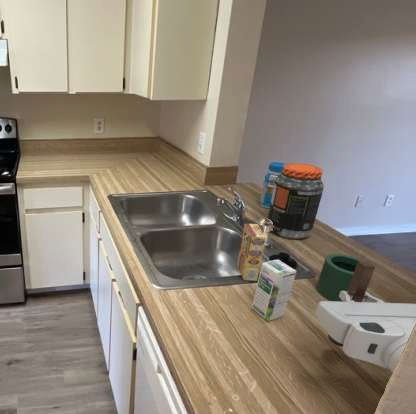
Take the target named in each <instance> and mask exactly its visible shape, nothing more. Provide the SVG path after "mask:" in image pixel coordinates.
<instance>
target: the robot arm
mask: <svg viewBox="0 0 416 414" xmlns="http://www.w3.org/2000/svg"><path fill="white" fill-rule="evenodd" d="M353 296H354V295H353V294H352V293H350V292H349V291H340V294H339V297H340V299H341V300H342V301H343V302H338V301H330V300H321V301H319V302H318V304H317V306H316V309H315V312H314V318H315V320H316V321H317V323H319V325H320V326H321V327H322V328H323V330H324V331H325V332H326V334H327V335H328V334H329V335H330V336H331V337H332V338H333V339H334V340H335V341H337V342H339V343H341V344H343V347H342V351H343V353H344V354H345V355H346V356H347V357H349V358H352V359H355V360H359V361H364V362H367V363H371V364H373V365H375V366H377V367H378V366H379V367H381V368H384V369H388V370H389V371H390V373H392V374H393V371H394V369H395V367H396V365H397V362H398V360H399V358H400V356H401V354H402V352H403V350H404V348H405V345H406V343H407V341H408V339H409V337H410V334H411V332H412V330H413V328H414V326H415V324H416V303H405V302H403V303H402V302H385V301H384V300H383V299H380V298H377V297H375V296H373V295H371V294H370V293H368V291H366V293H365V295H364V298H363V300H362V302H355V301H353V300H352V298H353Z"/></svg>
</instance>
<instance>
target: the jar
mask: <svg viewBox="0 0 416 414" xmlns="http://www.w3.org/2000/svg"><path fill="white" fill-rule="evenodd" d="M358 261H363V260H362V259H360V258H357V257H356V256H352V255H348V254H344V253H343V254H342V253H331V254H327V255H326V256H325V258H324V261H323V264H322V268H321V271H320V274H319V276H318V281H317V284H316V290H317V292H318V294H319V295H321V296H322V297H323V298H325V299H327V301H338V302H343V301H342V300H341V299H340V297H339V294H340V291H348V289H349V286H350V283H351V280H352V277H353V275H354V272H355V269H356V266H357V263H358Z"/></svg>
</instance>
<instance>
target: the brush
mask: <svg viewBox="0 0 416 414" xmlns="http://www.w3.org/2000/svg"><path fill="white" fill-rule="evenodd" d="M375 269H376V266H375V265H374V264H373V263H371V262H369V261H368V260H365V261H364V260H362V261H358V263H357V266H356V269H355V272H354V275H353V277H352V280H351V283H350V286H349V289H348V291H349V292H350V293H352V294H353V295H354V296H353V298H352V300H353V301H355V302H362V300H363V298H364V295H365V293H366V292H367V290H368V287H369V285H370V282H371V280H372V277H373V274H374V271H375ZM327 338H328V340H329V341H330V343H332V344H334V345H335V346H337V347H340V348H343V344H341V343H339V342H337V341H335V340H334V339H333V338H332V337H331V336H330V335H329V334H328V333H327Z"/></svg>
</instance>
